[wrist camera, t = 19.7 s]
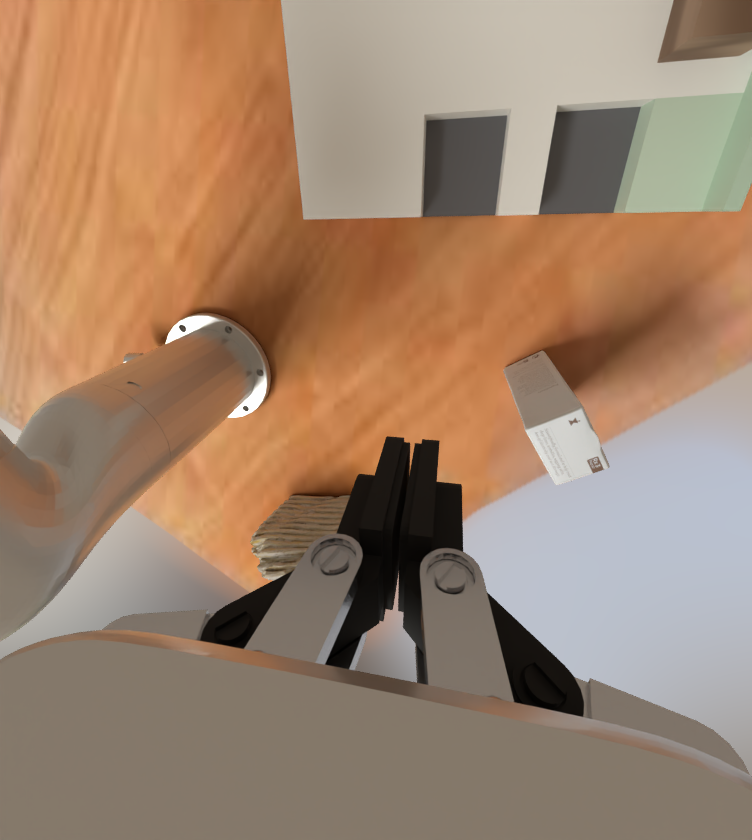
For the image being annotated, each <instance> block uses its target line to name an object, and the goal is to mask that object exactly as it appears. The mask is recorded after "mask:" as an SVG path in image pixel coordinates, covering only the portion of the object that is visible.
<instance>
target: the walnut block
mask: <svg viewBox="0 0 752 840" xmlns="http://www.w3.org/2000/svg"><path fill="white" fill-rule="evenodd" d="M751 49H752V0H674V1H673V5H672V8H671V12H670V16H669V20H668V24H667V27H666V31H665V35H664V39H663V43H662V46H661V50H660V54H659V58H658V62H657V63H664V62H675V61H687V60H699V59H711V58H722V57H734V56H740V55H742V54H744V53H746V52H748V51H750V50H751Z"/></svg>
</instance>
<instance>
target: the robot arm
mask: <svg viewBox="0 0 752 840" xmlns="http://www.w3.org/2000/svg"><path fill="white" fill-rule="evenodd" d="M270 383H271V374H270V367H269V364H268V361H267V357H266V356H265V354H264V352H263V350H262V348H261V346H260V345H259V343H258V342H257V341H256V339H255V338H254V337H253V336H252V335H251V334H250V333H249V332H248V331H247V330H246V329H245V328H243V327H242V326H241V325H239V324H238V323H237V322H235V321H233V320H231V319H229V318H227V317H224V316H221V315H218V314H213V313H197V314H194V315H191V316H188V317H186V318H184V319H182V320H180V321H179V322H177V323H176V324H175V325H174V326H173V327H172V329H171V330H170V332H169V334H168V337H167V340H166V344H164V345H162V346H160V347H158V348H156V349H153V350H151V351H149V352H147V353H145V354H143V353H128V354H126V355H125V357H124V363H123V364H121V365H119V366H117V367H114V368H112V369H110V370H108V371H106V372H104V373H102V374H99V375H97V376H95V377H93V378H91V379H89V380H86V381H84V382H82V383H80V384H78V385H75V386H73V387H71V388H69V389H67V390H65V391H62V392H60V393H59V394H57V395H55V396H54V397H52V398H50V399H49V400H48V401H47V402H45V403H44V404H43V405H42V406H41V407H40V408H39V409H38V410H37V411H36V412H35V413H34V414H33V415H32V417H31V418H30V420H29V421H28V423H27V424H26V426H25V427H24V429H23V431H22V433H21V435H20V437H19V439H18V441H17V443H16V445H15V444H13V443H12V442H11V441H10V440H9V439H8V437H6V435H5V434H4V433H3V432H2V431H1V430H0V641H2V640H3V639H5V638H7V637H9V636H10V635H11V634H13V633H14V632H16V631H17V630H18V629H20V628H21V627H23V626H24V625H25V624H27V623H28V622H29V621H30V620H31V619H33V618H34V617H35V616H36V615H37V614H38V613H39V612H40V611H41V610H43V609H44V607H46V605H48V604H49V603H50V602H51V601H52V600H53V599H54V597H55V596H56V595H57V594H58V593H59V592H60V591H61V589H62V588H63V587H64V586H65V585H66V583H67V582H68V581H69V580H70V579H71V577H72V576H73V575H74V573H75V572H76V571H77V569H78V568H79V567H80V565H81V564H82V563H83V561H84V560H85V559H86V558H87V556H88V555H89V553H90V552H91V551H92V550H93V548H94V547H95V546H96V544H97V543H98V542H99V541H100V539H101V538H102V537H103V535H104V534H105V533H106V532H107V531H108V530H109V529H110V528H111V526H112V525H113V524H114V523H115V522H116V521H117V519H118V518H119V517H120V516H121V515H122V514H123V513H124V512H125V511H126V510H127V509H128V508H129V507H130V506H131V505H132V504H133V503H134V502H135V501H136V500H138V499H139V498H140V497H141V496H142V495H143V494H144V493H145V492H146V491H147V490H148V489H149V488H150V487H151V486H152V485H154V484H155V483H156V482H157V481H158V480H159V479H160V478H161V477H162V476H164V475H165V474H166V473H167V472H168V471H169V470H170V469H171V468H172V467H173V466H175V465H176V464H177V463H178V462H179V461H180V460H181V459H182V458H183V457H184V456H186V455H187V454H188V453H189V452H190V451H191V450H192V449H193V448H194V447H195V446H197V445H198V444H199V443H200V442H201V441H202V440H203V439H204V438H205V437H206V436H208V435H209V434H210V433H211V432H212V431H213V430H214V429H215V428H216V427H217V426H219V425H220V424H221V423H222V422H223V421H224V420H225V419H226V418H237V417H242V416H245V415H248V414H250V413H252V412H253V411H255V410H256V409H257V408H258V407H259V406H260V405H261V404H262V403H263V402H264V400H265V399H266V397H267V395H268V392H269V389H270ZM438 453H439V441H436V440H424V439H422V444H418V443H415V447H414V453H413V459H412V464H411V470H410V476H409V469H410V443H406V442H404V438H400V437H388V436H387V437H386V440H385V443H384V447H383V450H382V453H381V457H380V460H379V463H378V466H377V470H376V473H375V475H365V474H359V475H358V476H357V479H356V481H355V484H354V487H353V489H352V492H351V495H350V498H349V500H348V503H347V506H346V508H345V511H344V514H343V517H342V519H341V522H340V525H339V527H338V530H337V533H336V534H329V535H326V536H323V537H320V538H319V539H317V540H316V541H314V542H313V543H312V544H311V545H310V546H309V548H308V549H307V550H306V552H305V553H304V555H303V557H302V558H301V560H300V561H299V563H298V564H297V566H296V568H295V569H294V570H293V571H291V572H289V573H287V574H285V575H283V576H281V577H280V578H278V579H276V580H274V581H272V582H270V583H268V584H266V585H264V586H262V587H260V588H259V589H257V590H255V591H253V592H251V593H249V594H247V595H245V596H243V597H241V598H240V599H238V600H236V601H234V602H232V603H230V604H228V605H226V606H225V607H223V608H222V609H220V610H219V611H217V612H216V613H213V614H209V612H208V610H193V611H177V612H161V613H147V614H133V615H128V616H124V617H121V618H119V619H117V620H115V621H113V622H112V623H110V624H109V625H107V626H106V627H105V628H104V629H102V630H97V631H87V632H79V633H73V634H69V635H64V636H59V637H54V638H50V639H47V640H44V641H41V642H37V643H34V644H32V645H29V646H26V647H24V648H21V649H19V650H17V651H15V652H13V653H11V654H9V655H7V656H5V657H4V658H2V659H1V660H0V840H752V776H751V775H750V774H749V772H748V770H747V768H746V766H745V764H744V762H743V760H742V759H741V758H740V757H739V755H738V754H737V753H736V752H735V750H734V749H733V748H732V747H731V745H730V744H729V743H728V742H727V741H725V740H724V739H723V738H722V737H721V736H720V735H718V734H717V733H716V732H715V731H714V730H712V729H710V728H708V727H707V726H705V725H703V724H701V723H699V722H698V721H695V720H693V719H690V718H688V717H685V716H683V715H680V714H678V713H675V712H673V711H670V710H668V709H665V708H663V707H660V706H658V705H655V704H653V703H650V702H648V701H645V700H643V699H640V698H638V697H636V696H633V695H631V694H628V693H626V692H623V691H621V690H618V689H615V688H613V687H611V686H608V685H605V684H603V683H600V682H598V681H596V680H593V679H590V680H589V682H585V681H583V680H580V679H578V678H575V677H574V676H573V675H572V674H571V672H570V671H569V670H568V669H567V668H566V667H565V665H563V664H562V663H561V662H560V661H559V660H558V659H557V658H556V657H555V656H554V655H553V654H552V653H551V652H550V651H549V650H547V648H546V647H544V646H543V645H542V644H541V643H540V642H539V641H538V640H537V639H536V638H535V637H534V636H533V635H532V634H531V633H530V632H528V631H527V630H526V629H525V628H524V627H523V626H522V625H521V624H520V623H519V622H518V621H517V620H516V619H515V618H514V617H513V616H512V615H511V614H509V613H508V612H507V611H506V610H505V609H504V608H503V607H502V606H501V605H500V604H499V603H498V602H497V601H496V600H495V599H494V598H492V597H491V596H490V595H489V594H488V593H487V591H486V587H485V583H484V579H483V575H482V572H481V570H480V567H479V565H478V564H477V563H476V561H475V560H474V559H473V558H472V557H470V556H469V555H467V554H466V553H464V552H463V527H462V485H461V484H453V483H443V482H436V481H437V467H438ZM398 573H399V599H398V603H399V604H398V611H402V612H404V618H403V628H404V629H405V630H406V632H407V633H408V634H409V636H410V637H411V638H412V640H413V641H414V642H415V643H416V647H415V650H416V651H415V653H416V670H417V683H415V682H410V681H405V680H399V679H395V678H390V677H385V676H380V675H374V674H369V673H364V672H359V671H355V668H356V665H357V663H358V660H359V657H360V654H361V652H362V649H363V646H364V644H365V641H366V636H367V631H368V630H370V629H371V628H373V627H374V626H376V625H377V624H378V623H379V621H383V620H384V614H385V609H390V610H392V609H393V605H394V598H395V592H396V585H397V579H398Z"/></svg>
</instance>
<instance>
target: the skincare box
mask: <svg viewBox="0 0 752 840" xmlns="http://www.w3.org/2000/svg"><path fill="white" fill-rule="evenodd" d="M504 374H505V376H506V379H507V382H508V384H509V387H510V390H511V392H512V395H513V398H514V401H515V403H516V406H517V409H518V411H519V414H520V416H521V419H522V421H523V424H524V427H525V431H526V433H527V435H528V436H529V438H530V440H531V442H532V444H533V445H534V447H535V449H536V451H537V453H538V454H539V456H540V458H541V460H542V462H543V463H544V465H545V467H546V469H547V471H548V472H549V474H550V476H551V478H552V479H553V481H554V483H555V485H559V484H562V483H565V482H569V481H572V480H575V479H577V478H581V477H583V476H586V475H589V474H592V473H595V472H598V471H601V470H604V469H607V468H609V463H608V461H607V459H606V456H605V454H604V452H603V450H602V448H601V445H600V441H599V439H598V436H597V434H596V433H595V432H594V429H593V427H592V425H591V423H590V421H589V418H588V416H587V414H586V412H585V410H584V408H583V406H582V404H581V403H580V401H579V400H578V399H577V397H576V396H575V394H574V393H573V391H572V390H571V389H570V387H569V386H568V385H567V383H566V382H565V380H564V379H563V377H562V376H561V375H560V373H559V372H558V370H557V369H556V367H555V366H554V364H553V363H552V361H551V360H550V358H549V357H548V356H547V354H546V353H545V352H544V351H540V352H538V353H536V354H533V355H531V356H529V357H527V358H525V359H523V360H520V361H518V362H516V363H514V364H512V365H510V366H508V367H506V368H504Z"/></svg>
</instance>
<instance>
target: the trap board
mask: <svg viewBox="0 0 752 840" xmlns="http://www.w3.org/2000/svg"><path fill="white" fill-rule="evenodd" d="M673 1H674V0H281V6H282V16H283V25H284V35H285V45H286V54H287V64H288V74H289V83H290V93H291V103H292V112H293V122H294V132H295V141H296V151H297V161H298V170H299V180H300V190H301V199H302V209H303V219H352V218H400V217H429V216H477V215H538V214H574V213H644V212H692V211H740V210H741V208H742V205H743V203H744V200H745V198H746V195H747V193H748V191H749V188H750V186H751V183H752V49H751V50H750V51H748V52H746V53H744V54H742V55H740V56H734V57H722V58H711V59H699V60H687V61H675V62H664V63H657V62H658V58H659V54H660V50H661V46H662V43H663V39H664V35H665V31H666V27H667V24H668V20H669V16H670V12H671V8H672V5H673Z"/></svg>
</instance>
